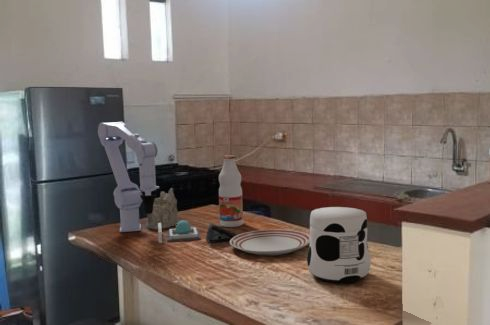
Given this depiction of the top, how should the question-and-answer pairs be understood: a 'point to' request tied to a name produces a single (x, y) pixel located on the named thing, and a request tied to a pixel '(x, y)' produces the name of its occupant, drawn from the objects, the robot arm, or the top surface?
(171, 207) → the jagged rock
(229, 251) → the top surface
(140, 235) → the top surface
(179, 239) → the mat
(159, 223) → the wall
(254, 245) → the dinner plate
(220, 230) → the chocolate cake
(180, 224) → the ball
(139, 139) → the robot arm
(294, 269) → the top surface
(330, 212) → the milk container
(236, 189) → the fruit juice
